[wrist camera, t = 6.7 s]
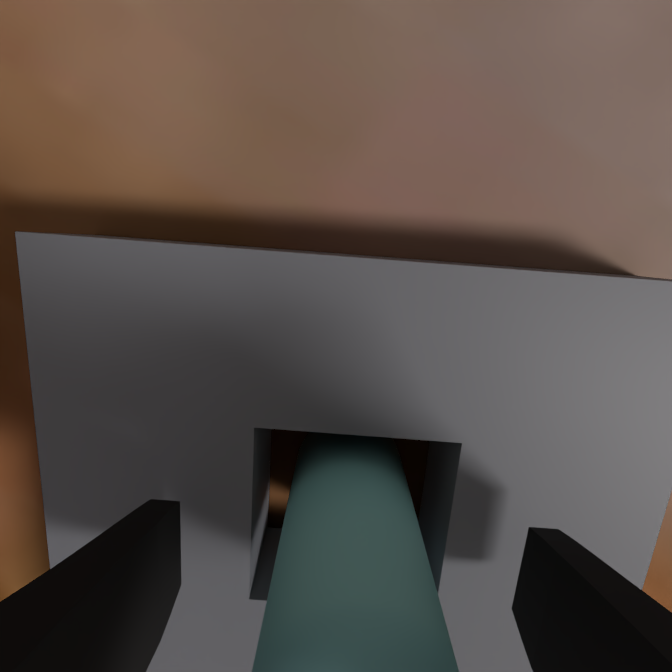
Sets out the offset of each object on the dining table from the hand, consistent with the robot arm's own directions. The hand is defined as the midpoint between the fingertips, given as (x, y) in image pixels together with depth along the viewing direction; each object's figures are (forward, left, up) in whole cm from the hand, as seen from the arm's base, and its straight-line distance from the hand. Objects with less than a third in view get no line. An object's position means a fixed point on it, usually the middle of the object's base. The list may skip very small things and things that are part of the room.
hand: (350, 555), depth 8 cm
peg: (0, 0, -3) cm, 3 cm away
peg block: (0, 0, -3) cm, 3 cm away
